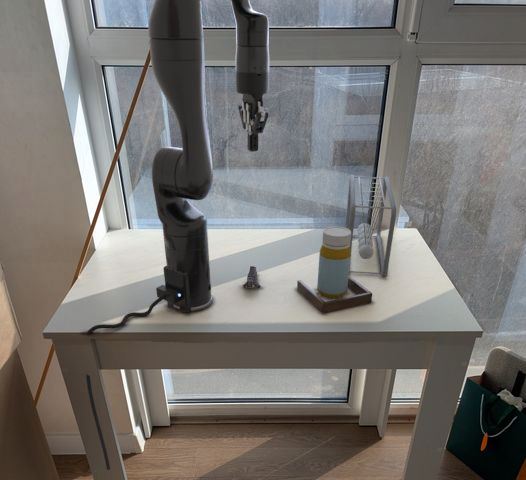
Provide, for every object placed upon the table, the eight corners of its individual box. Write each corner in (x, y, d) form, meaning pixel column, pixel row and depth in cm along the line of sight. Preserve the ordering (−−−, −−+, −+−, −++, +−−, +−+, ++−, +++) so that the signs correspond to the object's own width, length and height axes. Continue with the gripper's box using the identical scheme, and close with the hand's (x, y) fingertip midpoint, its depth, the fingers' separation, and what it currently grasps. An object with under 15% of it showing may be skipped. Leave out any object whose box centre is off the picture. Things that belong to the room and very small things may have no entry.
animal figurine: (246, 279, 128) (246, 259, 126) (263, 280, 128) (264, 260, 125) (239, 293, 117) (239, 272, 115) (258, 294, 117) (258, 273, 115)
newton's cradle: (386, 280, 125) (397, 209, 115) (343, 277, 127) (351, 207, 117) (379, 235, 150) (388, 174, 140) (344, 233, 151) (350, 172, 141)
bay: (296, 289, 121) (297, 280, 119) (342, 280, 125) (343, 271, 124) (322, 313, 111) (323, 303, 110) (371, 303, 115) (372, 293, 114)
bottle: (350, 289, 121) (357, 229, 113) (339, 301, 116) (346, 239, 107) (324, 283, 124) (328, 223, 115) (312, 294, 119) (316, 233, 110)
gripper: (226, 67, 117) (228, 146, 127) (248, 72, 107) (249, 158, 117) (256, 66, 119) (256, 143, 129) (280, 71, 109) (278, 155, 119)
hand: (252, 150), depth 123 cm, fingers closed
